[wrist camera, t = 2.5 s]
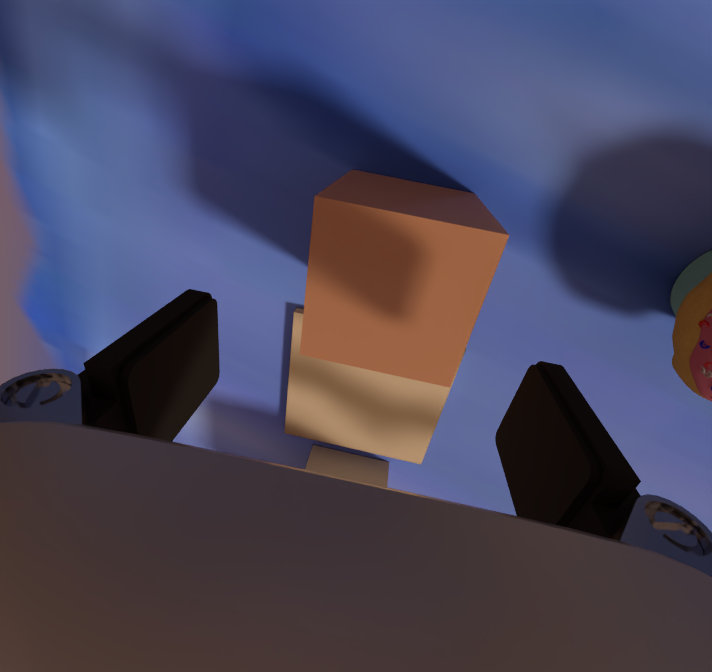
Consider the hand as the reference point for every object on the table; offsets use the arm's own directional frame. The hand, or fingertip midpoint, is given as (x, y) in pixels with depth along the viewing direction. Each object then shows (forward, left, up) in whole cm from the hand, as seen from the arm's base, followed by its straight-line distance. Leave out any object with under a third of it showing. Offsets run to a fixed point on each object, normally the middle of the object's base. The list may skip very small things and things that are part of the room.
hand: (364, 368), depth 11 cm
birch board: (+10, 0, -11) cm, 15 cm away
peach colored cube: (-1, 0, -11) cm, 11 cm away
